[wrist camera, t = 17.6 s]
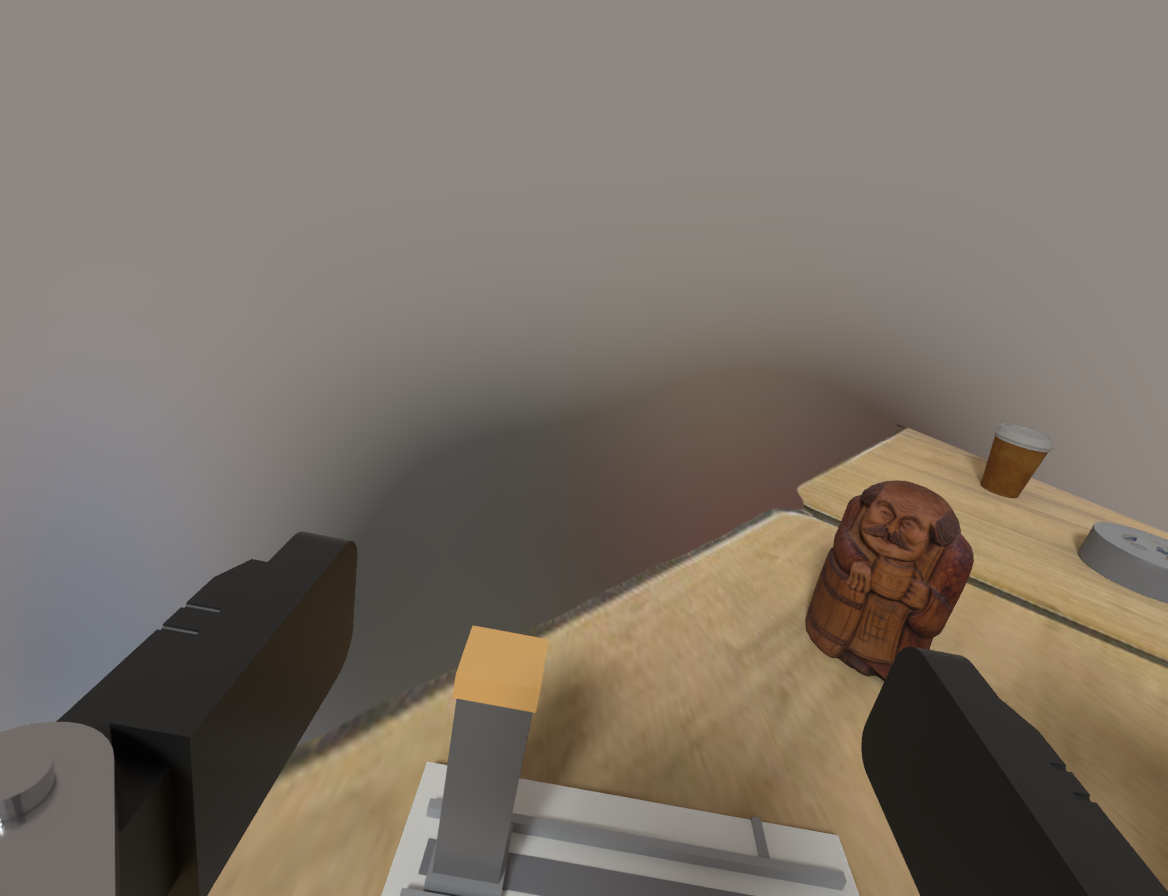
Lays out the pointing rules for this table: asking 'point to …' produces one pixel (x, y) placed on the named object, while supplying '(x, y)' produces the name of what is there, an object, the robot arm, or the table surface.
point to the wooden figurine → (889, 576)
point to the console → (629, 848)
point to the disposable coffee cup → (1014, 459)
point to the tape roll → (1128, 558)
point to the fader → (485, 760)
